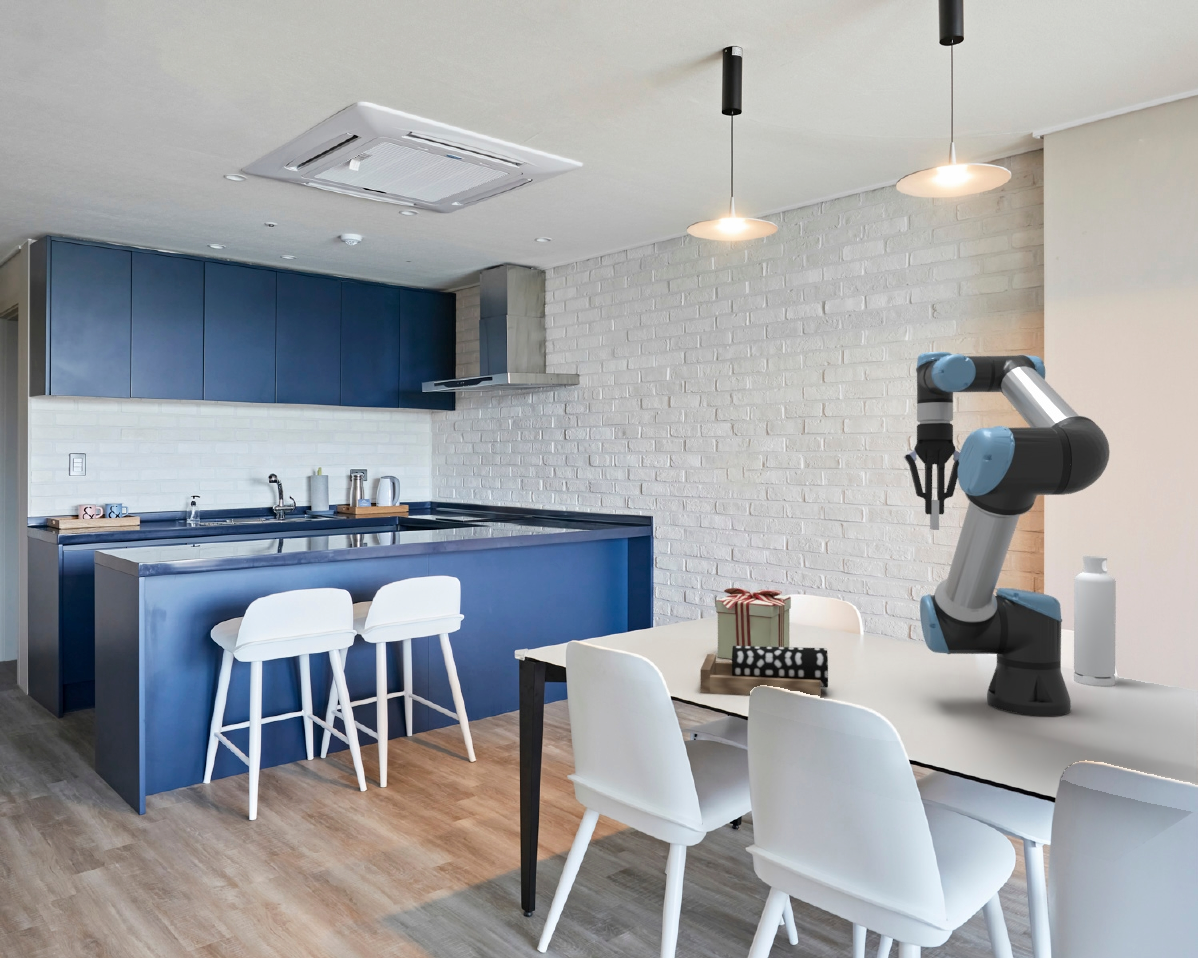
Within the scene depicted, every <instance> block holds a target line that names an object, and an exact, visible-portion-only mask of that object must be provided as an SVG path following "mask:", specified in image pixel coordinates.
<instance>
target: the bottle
mask: <svg viewBox="0 0 1198 958" xmlns="http://www.w3.org/2000/svg"><path fill="white" fill-rule="evenodd" d="M1082 561H1083V569H1082V572H1080V573H1078V574H1077V575H1076V576H1075V577H1074V579H1073V582H1074V584H1073V587H1074V588H1073V592H1074V593H1073V599H1074V601H1073V605H1074V606H1073V623H1074V624H1073V670H1074V672H1073V680H1074V682H1076V683H1078V684H1082V685H1086V686H1092V687H1093V686H1094V687H1112V686H1115V685H1116V676H1115V675H1116V621H1117V620H1116V612H1117V611H1116V610H1117V609H1116V608H1117V607H1116V603H1117V595H1116V594H1117V593H1116V592H1117V591H1116V589H1117V588H1116V584H1117V583H1116V582H1117V581H1116V579H1115V578H1114V577H1113V575H1111V574H1110V573H1108V568H1107V561H1108V557H1106V556H1099V555H1085V556H1082Z"/></svg>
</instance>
